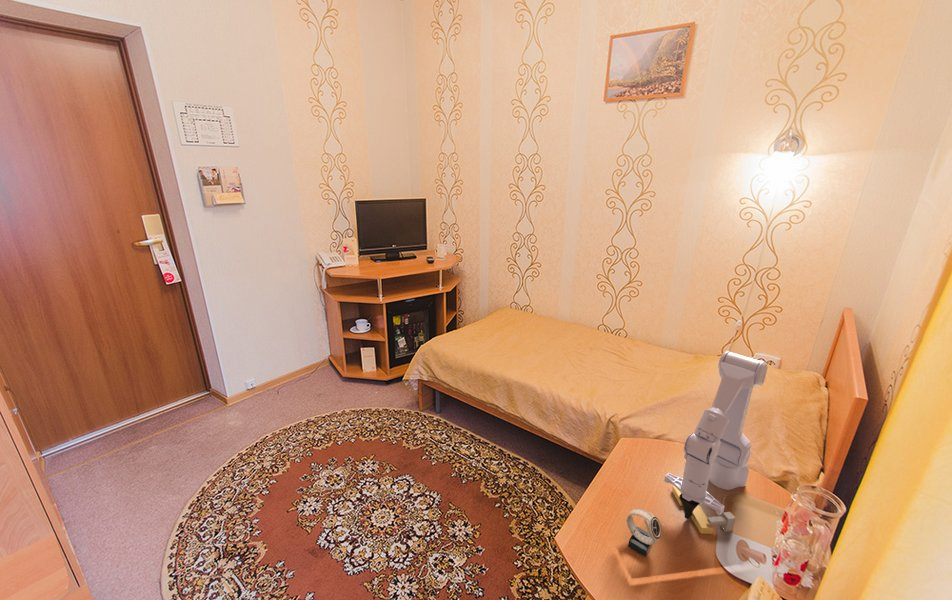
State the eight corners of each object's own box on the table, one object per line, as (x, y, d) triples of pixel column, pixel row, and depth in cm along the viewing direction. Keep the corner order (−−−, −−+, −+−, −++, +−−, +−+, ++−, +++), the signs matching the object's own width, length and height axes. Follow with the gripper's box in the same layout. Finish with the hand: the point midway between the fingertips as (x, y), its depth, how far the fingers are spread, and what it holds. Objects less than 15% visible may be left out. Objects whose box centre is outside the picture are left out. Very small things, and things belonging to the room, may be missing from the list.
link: (672, 491, 114) (672, 485, 114) (690, 491, 114) (691, 486, 113) (695, 533, 101) (697, 527, 100) (717, 533, 101) (718, 528, 100)
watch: (653, 565, 94) (658, 530, 91) (620, 545, 99) (624, 512, 96) (660, 549, 98) (666, 515, 95) (629, 531, 103) (633, 498, 100)
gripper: (661, 467, 104) (655, 506, 108) (718, 502, 93) (709, 544, 97) (674, 456, 108) (668, 494, 112) (731, 488, 97) (722, 529, 101)
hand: (688, 517), depth 105 cm, fingers closed, pressing on link
